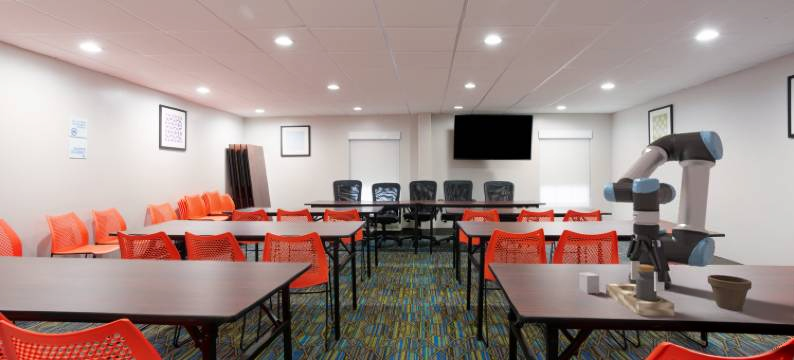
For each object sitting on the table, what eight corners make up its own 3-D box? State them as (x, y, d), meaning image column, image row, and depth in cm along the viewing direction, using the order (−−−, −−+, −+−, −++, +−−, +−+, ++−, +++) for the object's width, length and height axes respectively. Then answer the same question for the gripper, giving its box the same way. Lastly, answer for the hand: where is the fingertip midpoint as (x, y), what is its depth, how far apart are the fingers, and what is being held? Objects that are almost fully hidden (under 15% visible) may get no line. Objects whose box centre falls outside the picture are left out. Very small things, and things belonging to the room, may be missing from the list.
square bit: (591, 289, 150) (591, 272, 150) (599, 293, 145) (599, 275, 145) (579, 290, 150) (579, 272, 150) (587, 293, 145) (587, 276, 145)
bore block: (635, 294, 143) (635, 284, 143) (674, 315, 121) (674, 303, 121) (606, 294, 144) (605, 283, 144) (639, 315, 122) (639, 303, 122)
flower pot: (714, 299, 137) (714, 272, 137) (756, 308, 127) (756, 279, 127) (702, 305, 130) (702, 277, 130) (745, 315, 121) (745, 285, 121)
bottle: (653, 307, 129) (653, 264, 129) (659, 313, 124) (659, 268, 123) (634, 305, 131) (633, 263, 131) (638, 311, 125) (638, 267, 125)
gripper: (615, 218, 140) (616, 275, 140) (657, 228, 115) (658, 296, 115) (636, 218, 139) (637, 275, 139) (683, 228, 114) (683, 297, 115)
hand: (646, 285), depth 127 cm, fingers open, 13 cm apart
